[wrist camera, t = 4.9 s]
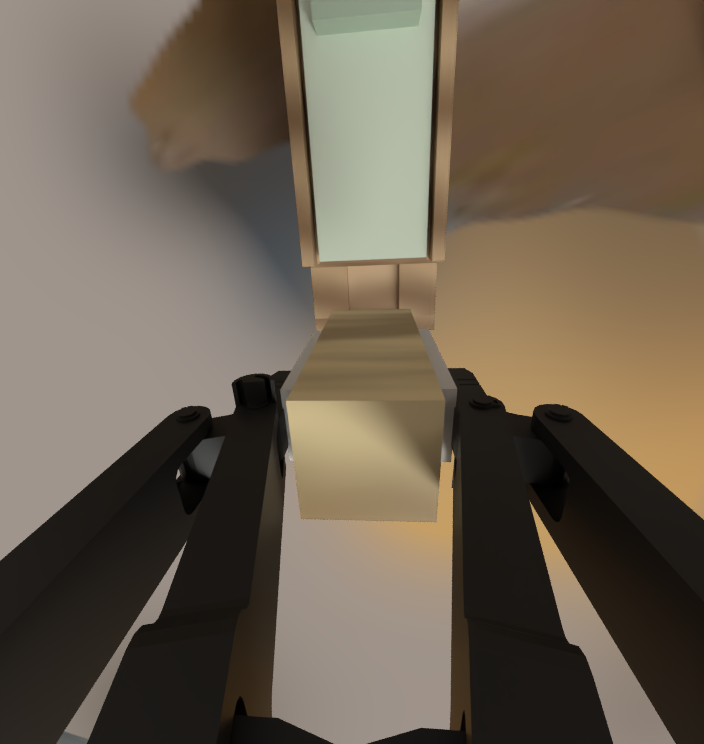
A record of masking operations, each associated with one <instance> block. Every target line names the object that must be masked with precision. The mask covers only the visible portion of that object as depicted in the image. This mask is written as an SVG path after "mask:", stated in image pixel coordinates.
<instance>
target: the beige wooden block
mask: <svg viewBox="0 0 704 744" xmlns="http://www.w3.org/2000/svg"><path fill="white" fill-rule="evenodd" d="M286 406H287V414H288V422H289V430H290V437H291V445H292V453H293V461H294V468H295V476H296V484H297V492H298V499H299V506H300V515H301V519H323V520H365V521H407V522H436V520H437V507H438V493H439V480H440V467H441V454H442V440H443V427H444V414H445V398H444V395H443V393H442V390H441V387H440V385H439V382H438V380H437V377H436V374H435V372H434V369H433V367H432V364H431V361H430V359H429V356H428V354H427V351H426V348H425V346H424V343H423V341H422V338H421V335H420V333H419V330H418V328H417V325H416V322H415V320H414V317H413V315H412V312H411V310H410V309H378V310H335V311H332V313H331V315H330V316H329V318H328V320H327V322H326V324H325V326H324V328H323V330H322V332H321V334H320V336H319V338H318V340H317V342H316V343H315V345H314V347H313V349H312V351H311V353H310V355H309V357H308V359H307V361H306V363H305V365H304V367H303V369H302V371H301V372H300V374H299V376H298V378H297V380H296V382H295V384H294V386H293V388H292V390H291V392H290V394H289V396H288V398H287V399H286Z"/></svg>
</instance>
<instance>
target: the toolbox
mask: <svg viewBox="0 0 704 744" xmlns="http://www.w3.org/2000/svg"><path fill="white" fill-rule="evenodd" d="M276 4H277V14H278V24H279V34H280V44H281V54H282V65H283V75H284V85H285V95H286V105H287V115H288V125H289V135H290V146H291V156H292V166H293V176H294V186H295V196H296V206H297V216H298V226H299V236H300V247H301V257H302V266H303V267H311V277H312V288H313V300H314V310H315V321H316V331H322V330H323V328H324V326H325V324H326V322H327V320H328V318H329V316H330V315H331V313H332V311H335V310H378V309H410V310H411V312H412V315H413V317H414V320H415V322H416V325H417V328H418V329H429V330H434V318H435V317H434V316H435V297H436V276H437V261H444V260H445V242H446V224H447V206H448V187H449V169H450V151H451V132H452V114H453V96H454V78H455V59H456V41H457V23H458V4H459V0H435V29H434V57H433V85H432V114H431V142H430V171H429V199H428V228H427V256H426V257H419V258H396V259H372V260H349V261H326V262H320V261H319V249H318V236H317V224H316V211H315V199H314V186H313V174H312V161H311V149H310V136H309V124H308V111H307V99H306V86H305V73H304V61H303V48H302V36H301V23H300V11H299V0H276Z"/></svg>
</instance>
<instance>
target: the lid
mask: <svg viewBox="0 0 704 744" xmlns="http://www.w3.org/2000/svg"><path fill="white" fill-rule="evenodd" d="M299 11H300V23H301V36H302V48H303V61H304V73H305V86H306V99H307V111H308V124H309V136H310V149H311V161H312V174H313V186H314V199H315V211H316V224H317V236H318V249H319V261H320V262H326V261H349V260H372V259H396V258H419V257H426V256H427V228H428V199H429V171H430V142H431V114H432V85H433V57H434V29H435V0H299Z"/></svg>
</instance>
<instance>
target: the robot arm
mask: <svg viewBox="0 0 704 744" xmlns="http://www.w3.org/2000/svg"><path fill="white" fill-rule="evenodd" d="M418 330H419V333H420V335H421V338H422V341H423V343H424V346H425V348H426V351H427V354H428V356H429V359H430V361H431V364H432V367H433V369H434V372H435V374H436V377H437V380H438V382H439V385H440V387H441V390H442V393H443V395H444V398H445V414H444V427H443V440H442V454H441V462H451V454H452V450H453V453H454V456H455V459H454V469H453V480H452V488H453V554H452V640H451V715H450V730H443V729H429V728H419V729H416V730H412V731H409V732H406V733H402V734H399V735H396V736H392V737H389V738H385V739H382V740H378V741H375V742H371V743H368V744H613V742H612V738H611V735H610V732H609V728H608V725H607V721H606V718H605V715H604V711H603V708H602V705H601V701H600V698H599V695H598V692H597V688H596V685H595V682H594V678H593V675H592V673H591V670H590V667H589V664H588V662H587V659H586V656H585V655H584V653H583V652H582V650H581V649H580V648H579V646H575V645H572V644H569V642H568V641H567V639H566V637H565V634H564V631H563V628H562V625H561V620H560V617H559V613H558V609H557V605H556V601H555V597H554V593H553V590H552V586H551V582H550V579H549V574H548V570H547V567H546V563H545V559H544V555H543V551H542V548H541V544H540V540H539V536H538V532H537V528H536V524H535V521H534V517H533V513H532V509H531V505H530V502H531V504H532V505H533V507H534V509H535V510H536V512H537V514H538V515H539V517H540V518H541V520H542V522H543V524H544V525H545V527H546V529H547V530H548V532H549V533H550V535H551V537H552V539H553V540H554V542H555V544H556V545H557V547H558V549H559V550H560V552H561V554H562V555H563V557H564V559H565V560H566V562H567V563H568V565H569V567H570V569H571V570H572V572H573V574H574V575H575V577H576V578H577V580H578V582H579V583H580V585H581V587H582V588H583V590H584V592H585V593H586V595H587V597H588V598H589V600H590V602H591V603H592V605H593V607H594V608H595V610H596V612H597V613H598V615H599V617H600V618H601V620H602V621H603V623H604V625H605V627H606V628H607V630H608V632H609V633H610V635H611V637H612V638H613V640H614V642H615V643H616V645H617V646H618V648H619V650H620V652H621V653H622V655H623V656H624V658H625V660H626V662H627V663H628V665H629V667H630V668H631V670H632V672H633V673H634V675H635V676H636V678H637V680H638V682H639V683H640V685H641V687H642V688H643V690H644V691H645V693H646V695H647V697H648V698H649V700H650V701H651V703H652V705H653V706H654V708H655V710H656V711H657V713H658V715H659V716H660V718H661V720H662V721H663V723H664V725H665V726H666V728H667V730H668V731H669V733H670V735H671V736H672V738H673V740H674V741H675V743H676V744H704V520H703V519H702V518H701V517H700V516H698V515H697V514H696V513H695V512H694V511H693V510H692V509H691V508H689V507H688V506H687V505H686V504H685V503H684V502H682V501H681V500H680V499H679V498H678V497H676V495H674V494H673V493H672V492H671V491H670V490H669V489H668V488H666V487H665V486H664V485H663V484H662V483H661V482H659V481H658V480H657V479H656V478H655V477H654V476H653V475H651V474H650V473H649V472H648V471H647V470H646V469H644V468H643V467H642V466H641V465H640V464H639V463H638V462H636V461H635V460H634V459H633V458H632V457H631V456H630V455H628V454H627V453H626V452H625V451H624V450H623V449H621V448H620V447H619V446H618V445H617V444H616V443H615V442H613V441H612V440H611V439H610V438H609V437H608V436H606V435H605V434H604V433H603V432H602V431H601V430H600V429H598V428H597V427H596V426H595V425H594V424H592V423H591V422H590V421H589V420H588V419H587V418H586V417H585V416H583V415H582V414H581V413H579V412H578V411H576V410H574V409H571V408H568V407H567V406H564V405H562V406H561V405H558V404H544V405H539V406H537V407H535V409H534V411H533V416H532V417H529V416H523V415H517V414H512V413H508V412H506V409H505V406H504V404H503V403H502V402H501V401H500V400H498V399H496V398H494V397H491V396H487V395H486V393H485V392H484V390H483V389H482V387H481V385H479V382H478V381H477V380H476V378H475V376H474V374H473V373H471V372H470V371H468V370H466V369H465V368H447V366H446V364H445V362H444V360H443V358H442V356H441V354H440V352H439V350H438V348H437V346H436V343H435V341H434V339H433V337H432V335H431V333H430V331H429V329H418ZM321 332H322V331H314V333H313V335H312V336H311V338H310V340H309V342H308V343H307V345H306V346H305V348H304V350H303V352H302V353H301V355H300V357H299V358H298V360H297V362H296V364H295V365H294V367H293V369H292V370H291V371H278V372H276V373H275V374H273V375H271V376H270V375H268V374H251V375H246V376H243V377H240V378H238V379H236V380H234V382H233V383H232V388H233V393H234V398H235V404H236V408H235V411H234V413H233V414H232V415H227V416H221V417H216V418H212V417H211V412H210V409H209V408H207V407H203V406H188V407H184V408H182V409H180V410H178V411H175V412H174V413H172V414H170V415H169V416H168V417H167V418H165V419H164V420H163V421H162V422H161V423H160V424H159V425H157V426H156V427H155V428H154V429H153V430H152V431H150V432H149V433H148V434H147V435H146V436H145V437H143V438H142V439H141V440H140V441H139V442H138V443H136V444H135V445H134V446H133V447H132V448H131V449H130V450H128V451H127V452H126V453H125V454H124V455H122V456H121V457H120V458H119V459H118V460H117V461H116V462H114V463H113V464H112V465H111V466H110V467H109V468H108V469H106V470H105V471H104V472H103V473H102V474H100V475H99V476H98V477H97V478H96V479H95V480H94V481H92V482H91V483H90V484H89V485H88V486H87V487H85V488H84V489H83V490H82V491H81V492H80V493H78V494H77V495H76V496H75V497H74V498H73V499H71V500H70V501H69V502H68V503H67V504H66V505H65V506H63V507H62V508H61V509H60V510H59V511H58V512H56V513H55V514H54V515H53V516H52V517H51V518H49V519H48V520H47V521H46V522H45V523H44V524H42V525H41V526H40V527H39V528H38V529H37V530H36V531H34V532H33V533H32V534H31V535H30V536H29V537H27V538H26V539H25V540H24V541H23V542H22V543H20V544H19V545H18V546H17V547H16V548H15V549H14V550H12V551H11V552H10V553H9V554H8V555H7V556H5V557H4V558H3V559H2V560H1V561H0V744H56V743H57V741H58V740H59V738H60V736H61V735H62V733H63V732H64V730H65V729H66V727H67V726H68V724H69V723H70V721H71V719H72V718H73V716H74V715H75V713H76V712H77V710H78V709H79V707H80V705H81V704H82V702H83V701H84V699H85V698H86V696H87V695H88V693H89V691H90V690H91V688H92V687H93V685H94V683H95V682H96V681H97V679H98V677H99V676H100V675H101V673H102V671H103V670H104V668H105V667H106V665H107V664H108V662H109V661H110V659H111V657H112V656H113V654H114V653H115V651H116V650H117V648H118V647H119V645H120V644H121V642H122V640H123V639H124V637H125V636H126V634H127V632H128V631H129V630H130V628H131V626H132V625H133V623H134V622H135V620H136V619H137V617H138V616H139V614H140V613H141V611H142V609H143V608H144V606H145V605H146V603H147V601H148V600H149V598H150V597H151V595H152V594H153V592H154V591H155V589H156V588H157V586H158V585H159V583H160V582H161V580H162V578H163V577H164V575H165V574H166V572H167V571H168V569H169V567H170V566H171V564H172V563H173V561H174V560H175V558H176V557H177V555H178V554H179V552H180V551H181V549H182V547H183V546H184V544H185V543H186V541H187V543H186V546H185V548H184V551H183V554H182V557H181V559H180V562H179V565H178V568H177V570H176V573H175V576H174V579H173V581H172V584H171V587H170V590H169V592H168V595H167V598H166V601H165V603H164V606H163V609H162V611H161V614H160V616H159V618H158V619H157V620H156V622H155V623H153V624H147V625H143V626H141V627H140V628H139V629H138V631H137V632H136V633H135V634H134V636H133V637H132V639H131V641H130V643H129V645H128V647H127V649H126V651H125V653H124V656H123V658H122V661H121V663H120V665H119V668H118V670H117V673H116V675H115V678H114V680H113V682H112V685H111V687H110V690H109V692H108V695H107V697H106V699H105V702H104V704H103V706H102V709H101V711H100V714H99V716H98V718H97V721H96V723H95V726H94V728H93V731H92V733H91V736H90V738H89V740H88V743H87V744H333V743H331V742H329V741H327V740H324V739H322V738H320V737H318V736H316V735H314V734H311V733H309V732H307V731H305V730H302V729H301V728H298V727H296V726H294V725H292V724H290V723H287V722H285V721H283V720H281V719H279V718H272V707H271V705H272V681H273V665H274V649H275V634H276V616H277V602H278V585H279V570H280V555H281V538H282V523H283V507H284V492H285V476H286V464H285V453H286V451H287V448H288V452H289V460H293V453H292V445H291V437H290V430H289V422H288V414H287V406H286V399H287V398H288V396H289V394H290V392H291V390H292V388H293V386H294V384H295V382H296V380H297V378H298V376H299V374H300V372H301V371H302V369H303V367H304V365H305V363H306V361H307V359H308V357H309V355H310V353H311V351H312V349H313V347H314V345H315V343H316V342H317V340H318V338H319V336H320V334H321ZM178 469H179V471H180V476H179V477H178V478H177V480H176V475H177V471H178ZM529 500H530V501H529Z"/></svg>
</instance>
